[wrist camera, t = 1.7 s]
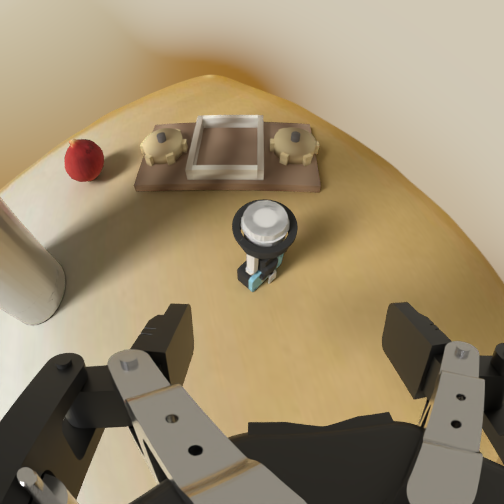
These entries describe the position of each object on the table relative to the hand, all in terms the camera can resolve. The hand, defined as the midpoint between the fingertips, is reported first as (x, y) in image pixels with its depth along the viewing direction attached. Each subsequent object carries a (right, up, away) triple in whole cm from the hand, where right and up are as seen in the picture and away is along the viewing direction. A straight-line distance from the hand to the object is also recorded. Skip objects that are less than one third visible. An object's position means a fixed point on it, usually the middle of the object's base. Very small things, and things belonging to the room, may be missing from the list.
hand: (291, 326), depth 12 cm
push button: (0, +1, +22) cm, 22 cm away
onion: (-25, +14, +29) cm, 40 cm away
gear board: (-5, +16, +30) cm, 35 cm away
